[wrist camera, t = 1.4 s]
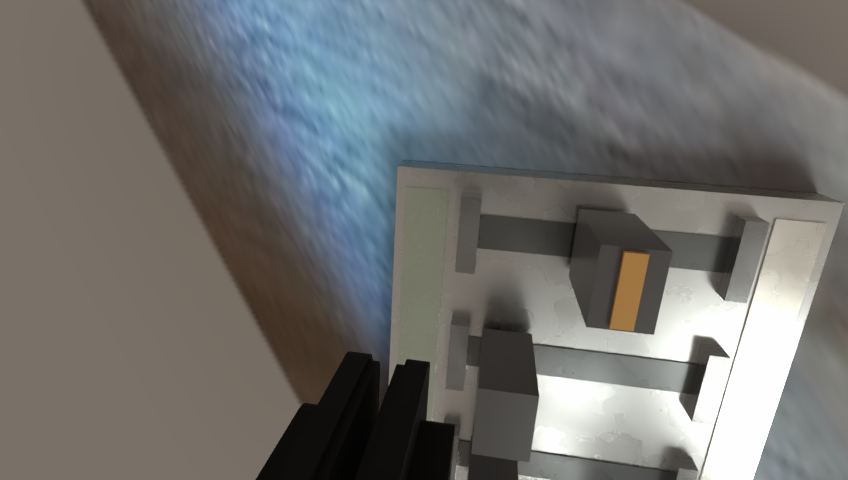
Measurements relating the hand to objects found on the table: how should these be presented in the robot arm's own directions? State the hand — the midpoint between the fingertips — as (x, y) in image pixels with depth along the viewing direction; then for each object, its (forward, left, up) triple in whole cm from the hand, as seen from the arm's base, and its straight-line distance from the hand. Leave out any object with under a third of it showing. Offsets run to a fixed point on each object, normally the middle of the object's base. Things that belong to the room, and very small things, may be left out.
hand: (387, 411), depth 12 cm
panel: (-7, -8, -17) cm, 20 cm away
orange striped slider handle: (0, -7, -15) cm, 16 cm away
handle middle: (-7, -3, -15) cm, 17 cm away
